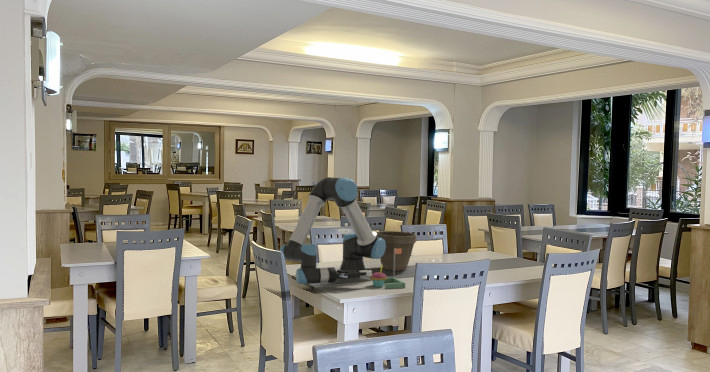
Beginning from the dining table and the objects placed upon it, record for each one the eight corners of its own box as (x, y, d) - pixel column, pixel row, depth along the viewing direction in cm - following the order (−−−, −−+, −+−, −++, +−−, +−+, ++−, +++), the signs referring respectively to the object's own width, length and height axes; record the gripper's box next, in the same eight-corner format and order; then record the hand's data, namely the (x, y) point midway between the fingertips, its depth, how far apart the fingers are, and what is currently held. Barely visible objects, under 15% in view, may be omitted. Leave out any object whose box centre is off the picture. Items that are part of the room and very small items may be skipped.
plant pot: (422, 268, 343) (423, 233, 343) (404, 274, 322) (405, 236, 322) (386, 263, 356) (387, 229, 356) (366, 269, 335) (367, 233, 335)
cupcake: (386, 284, 293) (386, 261, 293) (386, 288, 285) (387, 264, 284) (369, 284, 293) (370, 261, 293) (370, 287, 285) (370, 264, 284)
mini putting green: (386, 288, 283) (386, 253, 282) (374, 282, 297) (375, 248, 297) (412, 287, 288) (413, 252, 287) (400, 281, 302) (401, 248, 302)
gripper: (323, 280, 285) (366, 277, 293) (330, 285, 273) (375, 283, 281) (323, 265, 285) (367, 263, 293) (331, 270, 273) (376, 268, 281)
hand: (371, 273), depth 287 cm, fingers closed
